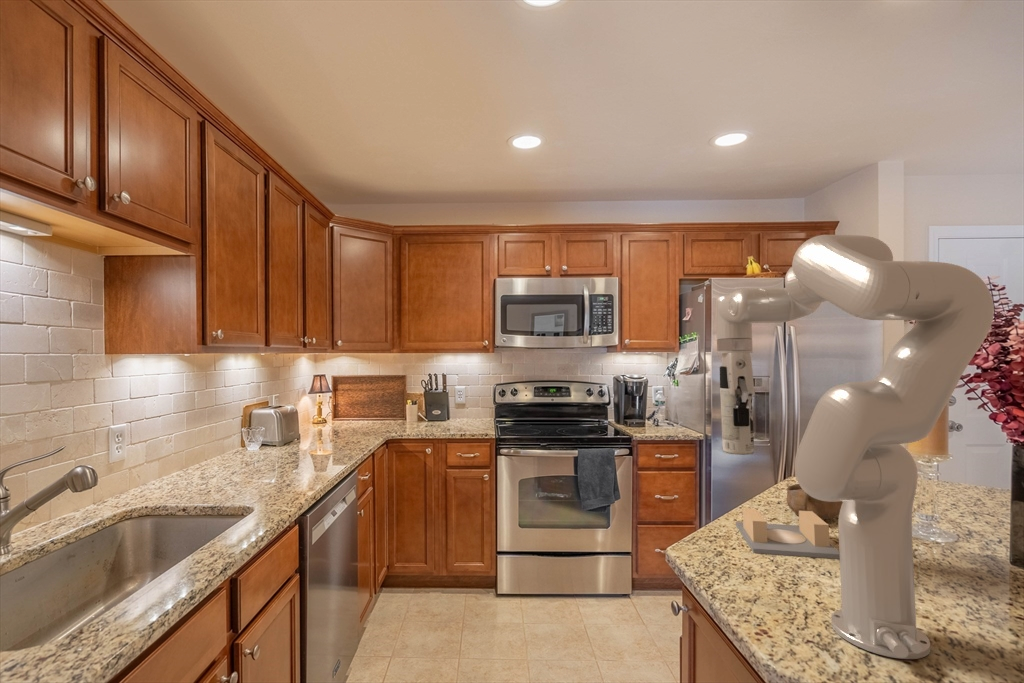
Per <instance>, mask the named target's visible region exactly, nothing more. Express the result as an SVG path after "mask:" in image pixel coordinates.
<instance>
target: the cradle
mask: <svg viewBox="0 0 1024 683" xmlns="http://www.w3.org/2000/svg"><path fill="white" fill-rule="evenodd" d="M798 523H799V525H797V524H780V523H779V524H778V523H767V520H766V519H765V518H764V517H763V515H762V514H761V513H760V512H759V511H758V509H757V508H754V507H753V508H752V507H742V522H741V521H736V522H735V527H736V528H737V530H738V529H739V530H738V532H740V534H741V536H742V537H743V539H744V541H745V542H746V543H747V545H748V547H749V548H750V550H751V551H752V553H753V554H764V555H776V556H777V555H779V556H791V557H805V558H807V557H808V558H818V559H819V558H821V559H835V560H840V554H839V550H838V549H837V548H836V547H835V546H834V545H833V544H832V543H830V528H829V527H830V525H829V524H828V523H827V522H826V521H824V519H823V520H822V519H821V518H820V517H818V516H817V515H816V514H815V513H814V512H812V511H799V517H798Z"/></svg>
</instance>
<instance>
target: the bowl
mask: <svg viewBox="0 0 1024 683" xmlns="http://www.w3.org/2000/svg"><path fill="white" fill-rule="evenodd" d="M842 503H843V501H837V502H828V501H821V500H818V499H815V498H813V497H811V496H810V495H808V494H807V493H806V492H804V490H803V489H802V488H801V487H800V485H799V483H796V484H792V485H789V486H788V487H787V489H786V505H787V506H788V508H789V509H790V510H791V511H792V512H793V513H794V514H795V515H796V517H798V518H799V511H812V512H814V513H815V514H816V515H817V516H818V517H820V518H821V519H822V520H823V521H824V520H829V519H832V518H835V517H839V513H840V509H841V506H842Z"/></svg>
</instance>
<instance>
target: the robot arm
mask: <svg viewBox="0 0 1024 683" xmlns="http://www.w3.org/2000/svg"><path fill="white" fill-rule="evenodd" d="M792 258H793V259H792V263H791V267H789V269H788V270H787V271H786V273H785V276H784V277H785V278H784V287H783V288H761V287H760V288H740V289H737V290H734V291H733V292H731V293H728V294H727V293H725V294H721V295H719V296H718V297H716V299H715V323H716V324H715V326H716V327H715V328H716V353H717V354H721V366H724V367H727V380H728V387H729V393H730V395H731V396H733V400H734V406H735V408H733V421H734V426H749V425H750V424H749V403H748V401H749V400H748V392H749V394H750V395H749V396H752V397H753V396H754V395H755V384H754V382H755V381H754V375H753V374H754V372H753V365H752V364H753V363H752V357H751V353H752V354H753V353H754V352H753V351H754V349H753V348H754V347H753V328H752V324H761V323H762V324H763V323H764V324H767V323H768V324H770V323H771V324H772V323H774V324H780V323H787V322H791V321H794V320H797V319H800V318H803V317H806V316H809V315H811V314H813V313H814V312H816V310H817V309H819V307H820V305H821V304H822V303H824V302H829V303H830V304H832V305H834V306H835V307H836V308H839V309H840V310H842V311H844V312H846V313H847V314H849V315H852V316H854V317H856V318H860V319H864V320H868V321H915V325H914V326H913V327H912V328H911V329H910V330H909V331H908V332H907V333H905V334H904V335H903V336H902V337H901V338H899V340H898V341H896V343H895V344H894V345H893V347H892V348H891V350H890V351H889V353H888V355H887V357H886V359H885V362H884V364H883V366H882V369H881V370H880V372H879V373H878V375H876V377H875V378H874V379H872V380H869V381H852V382H845V383H840V384H837V385H834V386H833V387H831V388H829V389H827V391H825V393H824V394H822V396H821V397H820V398H819V399H818V401H817V403H816V405H815V407H814V409H813V412H812V414H811V416H810V418H809V421H808V423H807V426H806V429H805V431H804V433H803V436H802V438H801V441H800V443H799V444H798V445H799V446H798V448H797V451H796V452H795V453H796V454H795V456H794V457H795V458H794V474H795V478H796V480H797V484H799V485H800V487H801V488H802V489H803V490H804V492H806V493H807V494H808V495H810V496H811V497H813V498H815V499H818V500H821V501H828V502H837V501H843V503H842V506H841V509H840V513H839V515H838V547H839V548H838V549H839V550H838V551H839V554H840V559H839V570H840V571H839V574H840V577H839V578H840V593H841V594H840V595H841V596H840V597H841V598H840V599H841V609H838V610H836V611H834V612H833V613H832V614H831V616H830V623H831V627H832V628H833V630H834V631H835V632H836V634H838V635H839V636H840V637H841V638H842V639H844V640H846V641H847V642H849V643H850V644H852V645H854V646H856V647H858V648H860V649H861V650H862V649H863V650H865V651H867V652H871V653H873V654H877V655H879V656H883V657H888V658H892V659H899V660H900V659H901V660H917V659H922V658H925V657H927V656H928V655H929V654H930V653H931V641H930V639H929V637H928V636H927V635H926V634H925V633H924V632H923V631H921V630H920V629H919V628H918V627H917V616H916V615H917V613H916V610H917V609H916V591H915V574H914V573H915V570H914V567H915V566H914V552H913V551H914V550H913V548H914V547H913V545H914V544H913V543H914V542H913V541H914V540H913V511H914V510H913V508H914V501H915V498H916V496H915V495H916V491H917V486H918V474H919V473H918V467H917V464H916V461H915V459H914V457H913V456H912V454H911V453H910V452H909V450H907V449H906V447H904V446H902V445H903V444H910V443H916V442H919V441H921V440H923V439H925V438H926V437H927V436H928V435H929V434H930V433H931V432H932V430H933V429H934V427H935V426H936V424H937V423H938V420H939V418H940V417H941V415H942V413H943V411H944V409H945V407H946V406H947V404H948V402H949V400H950V398H951V397H952V395H953V393H954V392H955V389H956V387H957V386H958V384H959V382H960V379H961V378H962V376H963V374H964V372H965V370H966V368H967V367H968V365H969V364H970V362H971V361H972V360H973V358H974V356H975V355H976V353H977V352H978V351H979V349H980V348H981V346H982V344H983V342H985V339H986V337H987V335H988V333H989V332H990V330H991V328H992V327H991V326H992V324H993V320H994V314H995V306H994V300H993V297H992V294H991V292H990V291H991V290H990V289H989V287H988V286H987V284H986V282H984V279H982V278H981V277H980V276H979V275H978V274H976V273H975V272H973V271H972V270H970V269H969V268H968V269H967V268H966V267H963V266H960V265H958V264H953V263H948V262H941V261H928V260H927V261H923V260H921V261H920V260H918V261H917V260H915V261H912V260H909V261H908V260H907V261H906V260H902V261H901V260H900V261H899V260H898V261H897V260H894V256H893V252H892V249H890V247H889V245H888V244H886V243H885V242H884V241H883V240H881V239H878V238H875V237H873V236H867V235H860V234H859V235H857V234H856V235H855V234H854V235H850V234H848V235H847V234H821V235H815V236H813V237H811V238H809V239H806V241H804V242H803V243H801V245H800V246H799V247H798V248H797V249H796V251H795V253H794V255H793V257H792ZM738 386H739V389H740V393H741V394H736V393H735V391H737V387H738ZM737 398H738V401H737ZM901 444H902V445H901Z"/></svg>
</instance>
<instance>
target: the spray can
mask: <svg viewBox="0 0 1024 683" xmlns="http://www.w3.org/2000/svg"><path fill="white" fill-rule="evenodd" d="M719 392H720V396H719V397H720V414H721V415H720V416H721V419H720V420H721V438H722V441H721V442H722V444H721V445H722V450H723V451H722V452H723V453H726V454H729V455H736V456H737V455H739V456H740V455H741V456H743V455H744V456H747V455H753V454H754V453H755V441H754V440H755V439H754V438H755V437H754V418H753V414H754V413H753V396H749V395H750V394H749V392H748V400H749V401H748V403H749V424H750V425H749V426H734V421H733V408H735V406H734V400H733V396H731V395H730V393H729V387H728V380H727V367H724V366H722V365H720V366H719ZM735 393H736V394H741V393H740V389H739V386H738V387H737V391H735ZM737 401H738V398H737Z"/></svg>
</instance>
